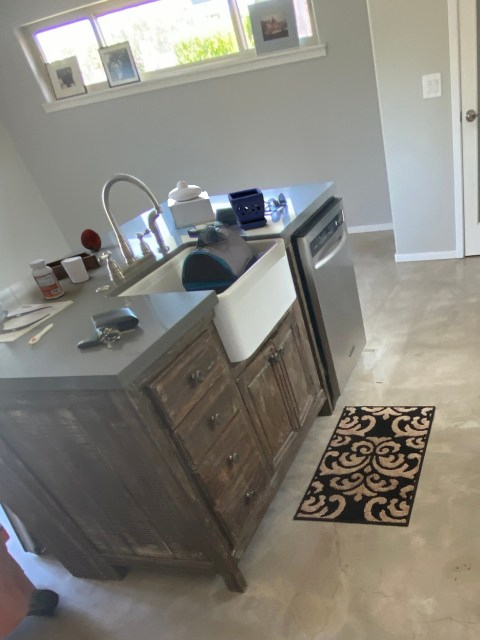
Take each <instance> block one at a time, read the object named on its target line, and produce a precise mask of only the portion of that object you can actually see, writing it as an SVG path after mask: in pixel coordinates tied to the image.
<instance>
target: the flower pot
mask: <svg viewBox="0 0 480 640" xmlns="http://www.w3.org/2000/svg"><path fill="white" fill-rule="evenodd" d="M227 199H228V201H229V205H230V206H231V210H232V211H233V213H234V215H235V217H236V218H237V219H239V221H240V222H239V221H236V223H237V225H238V227H239V228H240V229H241V230H243V231H247V230H251V229H255V228H260V227H264V226H266V225H267V223H268V219H267V218H266V217H265V214H266V206H265V205H266V204H265V198H264V193H263V191H262V190H261V189H260V188H259V187H254V188H248V189H243V190H239V191H235V192H229V193H227Z"/></svg>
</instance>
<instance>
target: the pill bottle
mask: <svg viewBox="0 0 480 640" xmlns="http://www.w3.org/2000/svg"><path fill="white" fill-rule="evenodd" d="M46 264H47V263H46V261H45V259H43V258H39V259H35V260H32V261H30V262H29V263H28V265H29V267H30V268H31V269H32V271H31V275H32V277H33V279H34V281H35V283H36V284H37V286H38V288H39V290H40V292H41V293H42V295H43V297H44V299H46V300H52V299H53V300H54V299H57V298H60V297H62V296H63V295H65V292H64V290H63V288H62V285H61V284H60V282H59V280H57V278H56V276H55V275H54V273H53V271H52V269H51V268H50V267H48V266H46Z"/></svg>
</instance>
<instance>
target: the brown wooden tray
mask: <svg viewBox="0 0 480 640" xmlns="http://www.w3.org/2000/svg"><path fill="white" fill-rule="evenodd" d="M71 257H81V259H82V261H83V264H84V266H85V269H86V271H90V270H93V269H96V268H99V267H101V264H100V263H99V260H98V258H97V256H96V254H94V253H91V252H89V251H82V252H80V253H77V254H73V255H70V256H67V257H63V258H61V259H57V260H54V261H50V262H47V263H46V266H48V267H50V268H51V269H52V271H53V273H54V275H55V276H56V278H57V280H58V281H59V280H62V279H66V278H68V277H69V275H68V273H67V272H66V270H65V268H64V267H63V265H62V264H61V261H63V260H65V259H68V258H71ZM69 278H70V277H69Z"/></svg>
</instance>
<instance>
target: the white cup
mask: <svg viewBox="0 0 480 640" xmlns="http://www.w3.org/2000/svg"><path fill="white" fill-rule="evenodd" d="M61 264H62V265H63V267H64V268H65V270H66V272H67V273H68V275H69V279H70V280H71V281H72V282H73V284H79V283H83V282H86V281H88V280H89V279H90V277H89V275H88V272H87V271H88V270H87V271H86V269H85V266H84V264H83V261H82V259H81V257H71V258H68V259H65V260H63V261H61Z"/></svg>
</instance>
